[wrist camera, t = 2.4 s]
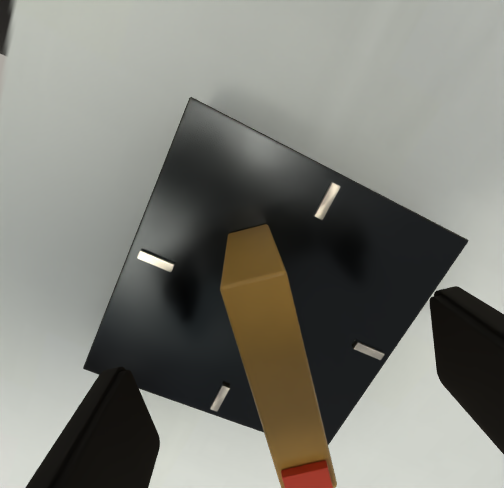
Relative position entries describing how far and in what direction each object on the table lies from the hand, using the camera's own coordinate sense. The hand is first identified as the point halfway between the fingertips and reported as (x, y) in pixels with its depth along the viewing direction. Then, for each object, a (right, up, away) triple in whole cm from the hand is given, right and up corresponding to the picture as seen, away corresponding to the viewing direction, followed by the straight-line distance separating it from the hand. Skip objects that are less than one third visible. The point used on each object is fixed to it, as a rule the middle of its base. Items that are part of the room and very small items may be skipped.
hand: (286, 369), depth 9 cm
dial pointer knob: (0, +1, +3) cm, 4 cm away
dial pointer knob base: (0, +2, +6) cm, 7 cm away
